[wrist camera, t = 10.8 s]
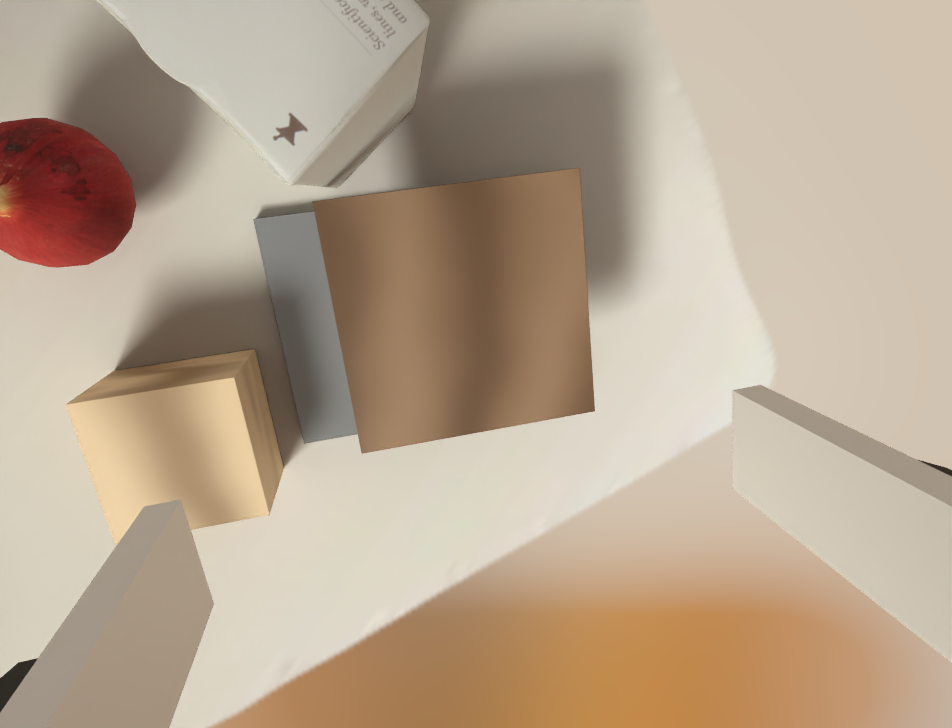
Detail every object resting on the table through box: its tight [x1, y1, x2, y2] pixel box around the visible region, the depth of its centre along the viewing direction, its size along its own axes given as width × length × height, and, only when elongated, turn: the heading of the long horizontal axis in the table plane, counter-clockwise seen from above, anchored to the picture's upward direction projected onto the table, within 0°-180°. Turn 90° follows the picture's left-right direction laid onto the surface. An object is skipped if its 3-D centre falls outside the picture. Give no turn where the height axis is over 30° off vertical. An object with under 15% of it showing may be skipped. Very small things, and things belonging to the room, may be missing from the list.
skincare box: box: [96, 0, 430, 188], centre depth 21 cm, size 8×6×15 cm
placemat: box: [253, 211, 358, 444], centre depth 32 cm, size 16×12×1 cm
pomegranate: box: [0, 118, 136, 268], centre depth 24 cm, size 6×6×8 cm
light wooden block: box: [66, 349, 284, 544], centre depth 29 cm, size 7×7×5 cm
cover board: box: [312, 168, 595, 453], centre depth 26 cm, size 11×11×2 cm
